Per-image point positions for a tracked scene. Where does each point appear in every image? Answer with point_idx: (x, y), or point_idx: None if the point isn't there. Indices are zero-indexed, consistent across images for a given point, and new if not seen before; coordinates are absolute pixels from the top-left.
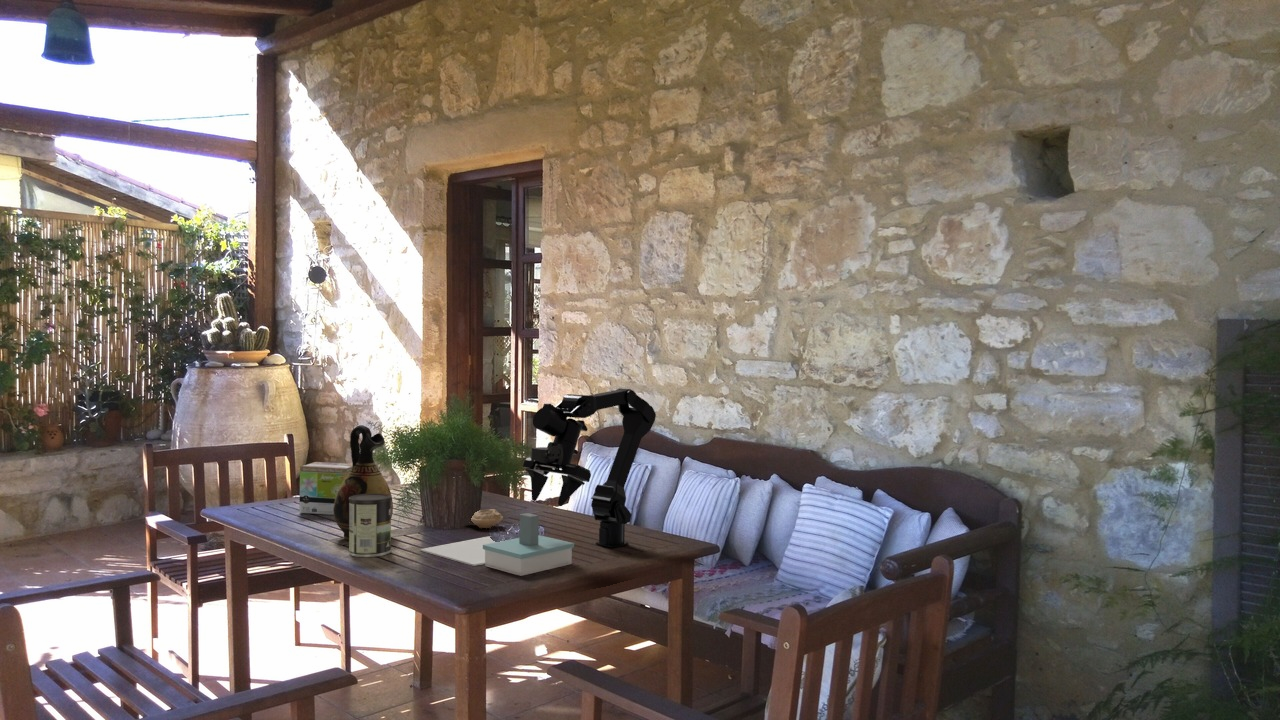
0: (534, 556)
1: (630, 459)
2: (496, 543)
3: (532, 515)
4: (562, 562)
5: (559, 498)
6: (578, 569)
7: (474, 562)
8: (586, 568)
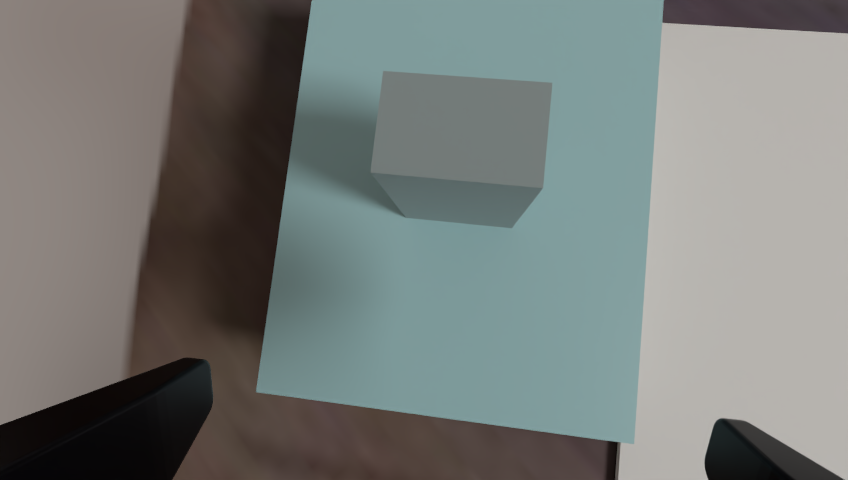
0: None
1: None
2: (628, 72)
3: (414, 127)
4: None
5: (133, 390)
6: (221, 300)
7: (681, 49)
8: (203, 339)
